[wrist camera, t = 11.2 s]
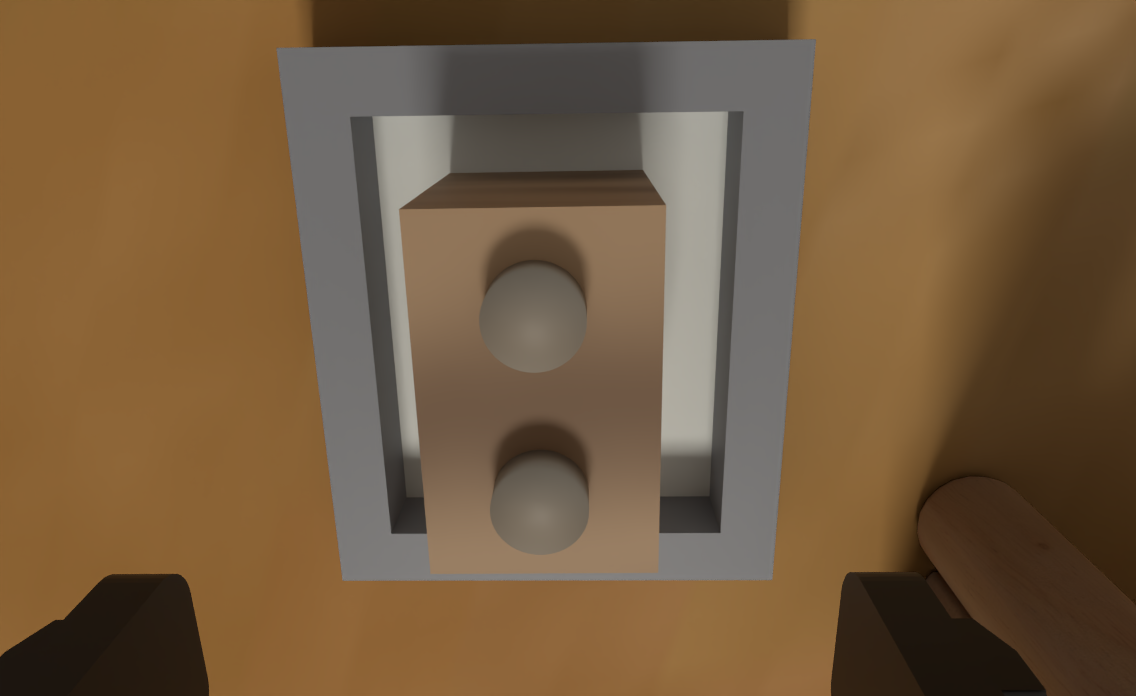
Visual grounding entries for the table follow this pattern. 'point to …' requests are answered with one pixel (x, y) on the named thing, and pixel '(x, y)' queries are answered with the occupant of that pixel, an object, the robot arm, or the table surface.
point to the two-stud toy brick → (538, 369)
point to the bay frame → (560, 143)
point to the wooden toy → (1029, 588)
